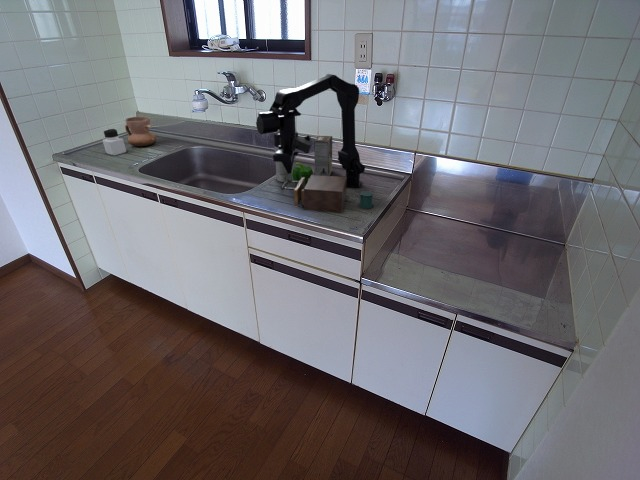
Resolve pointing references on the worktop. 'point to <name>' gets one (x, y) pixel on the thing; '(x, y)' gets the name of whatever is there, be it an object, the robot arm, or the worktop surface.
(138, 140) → the ceramic jug
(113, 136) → the medicine bottle
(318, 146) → the coffee box
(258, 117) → the robot arm
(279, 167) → the spray can
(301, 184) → the drawer
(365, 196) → the tea tin
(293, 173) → the bell pepper
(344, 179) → the cabinet
